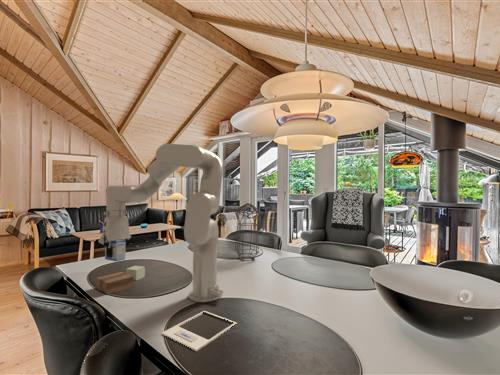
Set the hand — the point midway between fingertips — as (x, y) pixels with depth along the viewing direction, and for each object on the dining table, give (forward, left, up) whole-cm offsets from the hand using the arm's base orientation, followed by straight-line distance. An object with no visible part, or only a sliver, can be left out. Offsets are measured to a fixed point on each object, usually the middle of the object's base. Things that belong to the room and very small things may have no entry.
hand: (115, 255), depth 118 cm
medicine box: (0, 0, -2) cm, 2 cm away
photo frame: (-55, +6, -15) cm, 57 cm away
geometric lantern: (-22, -74, -14) cm, 79 cm away
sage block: (+4, -13, -14) cm, 20 cm away
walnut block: (0, 0, -15) cm, 15 cm away
